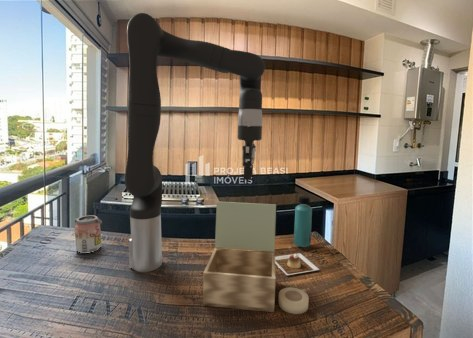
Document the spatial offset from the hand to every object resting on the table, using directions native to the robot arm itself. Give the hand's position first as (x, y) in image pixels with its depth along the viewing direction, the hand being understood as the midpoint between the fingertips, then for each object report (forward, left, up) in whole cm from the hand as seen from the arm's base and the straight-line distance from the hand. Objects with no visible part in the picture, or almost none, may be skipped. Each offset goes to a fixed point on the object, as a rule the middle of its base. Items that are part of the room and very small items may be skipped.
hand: (248, 177), depth 87 cm
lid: (0, -8, -13) cm, 15 cm away
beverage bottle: (+20, +16, -30) cm, 39 cm away
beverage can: (-58, +2, -30) cm, 65 cm away
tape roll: (+14, -19, -30) cm, 38 cm away
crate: (0, -16, -30) cm, 34 cm away
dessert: (+16, +2, -30) cm, 34 cm away
